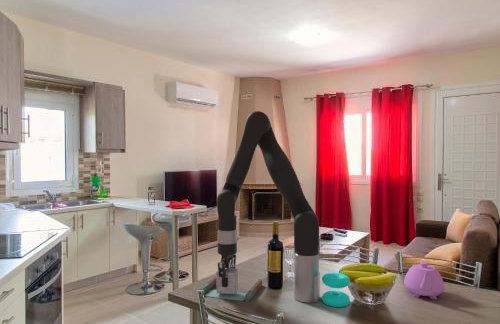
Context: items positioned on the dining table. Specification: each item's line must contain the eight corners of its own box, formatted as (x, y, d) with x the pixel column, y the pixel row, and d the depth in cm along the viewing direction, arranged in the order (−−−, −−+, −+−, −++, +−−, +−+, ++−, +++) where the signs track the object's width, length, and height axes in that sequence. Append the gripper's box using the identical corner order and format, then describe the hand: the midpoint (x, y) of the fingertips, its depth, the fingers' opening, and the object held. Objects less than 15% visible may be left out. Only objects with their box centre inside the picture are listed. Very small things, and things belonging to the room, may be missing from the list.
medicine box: (238, 290, 144) (238, 268, 144) (236, 294, 139) (236, 271, 139) (218, 289, 145) (218, 267, 145) (216, 293, 140) (216, 271, 140)
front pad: (249, 294, 142) (249, 293, 142) (243, 301, 136) (243, 300, 136) (211, 289, 147) (211, 289, 147) (204, 296, 141) (204, 295, 141)
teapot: (449, 307, 130) (449, 272, 129) (406, 302, 134) (406, 268, 134) (440, 288, 149) (440, 258, 148) (402, 284, 153) (402, 255, 153)
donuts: (355, 278, 131) (331, 281, 128) (355, 306, 131) (331, 310, 128) (339, 270, 140) (317, 273, 137) (339, 296, 141) (316, 299, 137)
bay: (262, 285, 152) (262, 279, 152) (248, 301, 135) (248, 295, 135) (217, 280, 158) (217, 274, 158) (199, 295, 141) (199, 289, 141)
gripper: (229, 246, 134) (229, 292, 134) (242, 237, 147) (242, 279, 148) (210, 244, 136) (211, 289, 136) (225, 236, 150) (225, 277, 150)
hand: (227, 284), depth 142 cm, fingers open, 5 cm apart
